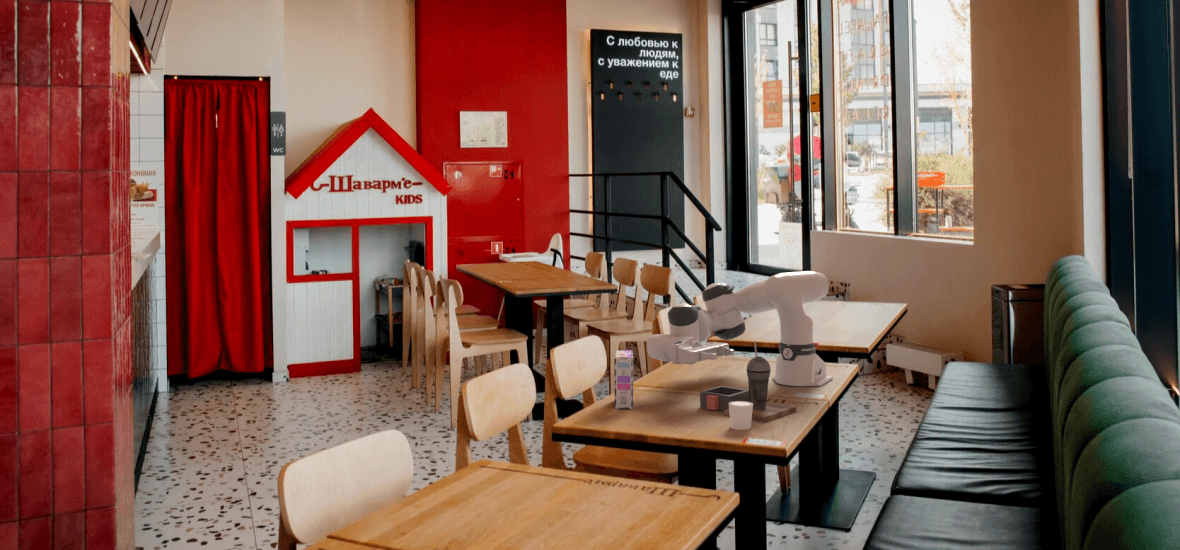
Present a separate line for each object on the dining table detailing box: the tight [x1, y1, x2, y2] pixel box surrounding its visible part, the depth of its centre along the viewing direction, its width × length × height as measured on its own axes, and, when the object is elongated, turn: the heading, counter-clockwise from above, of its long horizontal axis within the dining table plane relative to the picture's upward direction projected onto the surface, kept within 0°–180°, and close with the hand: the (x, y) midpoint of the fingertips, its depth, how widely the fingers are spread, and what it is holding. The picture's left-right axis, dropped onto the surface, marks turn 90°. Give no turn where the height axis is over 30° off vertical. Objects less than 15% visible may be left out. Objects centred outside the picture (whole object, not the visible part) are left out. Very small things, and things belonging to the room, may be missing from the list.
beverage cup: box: [746, 342, 771, 410], centre depth 274 cm, size 7×7×20 cm
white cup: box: [729, 401, 753, 431], centre depth 257 cm, size 7×7×7 cm
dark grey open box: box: [699, 385, 750, 412], centre depth 282 cm, size 13×11×5 cm
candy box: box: [613, 350, 634, 410], centre depth 287 cm, size 14×6×16 cm, turn 176°
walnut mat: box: [723, 401, 798, 423], centre depth 274 cm, size 18×14×2 cm
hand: (724, 354), depth 282 cm, fingers open, 8 cm apart
